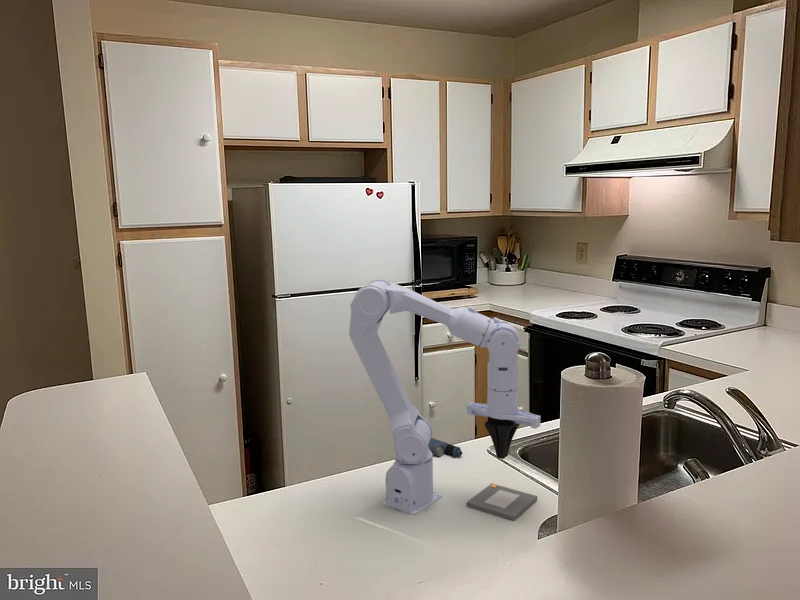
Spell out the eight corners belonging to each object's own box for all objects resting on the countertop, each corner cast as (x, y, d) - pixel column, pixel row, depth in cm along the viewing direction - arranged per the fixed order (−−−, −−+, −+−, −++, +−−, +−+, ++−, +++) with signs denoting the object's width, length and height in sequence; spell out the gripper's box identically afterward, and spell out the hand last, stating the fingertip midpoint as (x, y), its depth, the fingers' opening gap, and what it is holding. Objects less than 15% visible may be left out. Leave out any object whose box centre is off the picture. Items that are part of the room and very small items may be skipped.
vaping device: (426, 444, 151) (464, 457, 143) (411, 450, 147) (449, 463, 139) (426, 433, 151) (464, 446, 142) (410, 439, 147) (449, 452, 139)
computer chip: (513, 520, 113) (513, 515, 113) (466, 506, 119) (466, 501, 119) (537, 500, 121) (537, 495, 121) (491, 487, 127) (491, 482, 127)
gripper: (547, 388, 115) (546, 458, 117) (479, 377, 124) (479, 442, 126) (531, 398, 110) (530, 471, 112) (461, 385, 118) (461, 453, 120)
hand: (502, 456), depth 118 cm, fingers closed
